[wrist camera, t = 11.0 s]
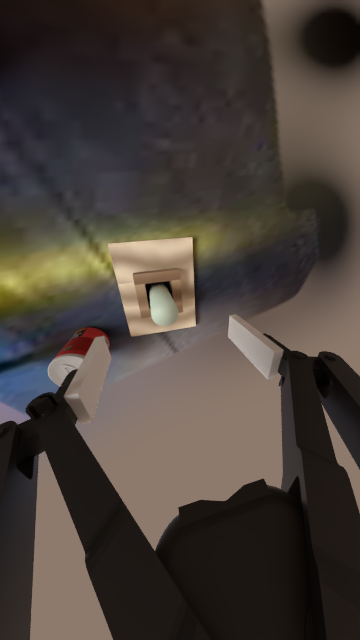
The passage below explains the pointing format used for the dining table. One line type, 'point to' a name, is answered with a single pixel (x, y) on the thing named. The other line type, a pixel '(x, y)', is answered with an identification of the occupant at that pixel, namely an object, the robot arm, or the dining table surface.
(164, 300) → the peg
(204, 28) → the dining table surface
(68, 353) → the canned food
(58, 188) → the dining table surface
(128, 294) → the socket board
